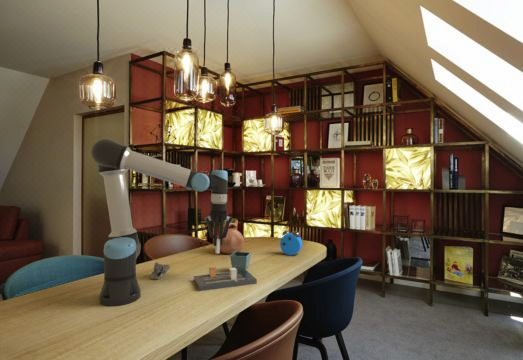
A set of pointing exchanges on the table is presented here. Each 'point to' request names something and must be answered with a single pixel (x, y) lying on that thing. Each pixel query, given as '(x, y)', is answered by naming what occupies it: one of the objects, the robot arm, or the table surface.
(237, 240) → the jug
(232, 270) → the fader ivory
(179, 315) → the table surface
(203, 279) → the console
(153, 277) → the mineral specimen
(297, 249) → the alarm clock
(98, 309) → the table surface
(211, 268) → the fader orange
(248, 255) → the flower pot
